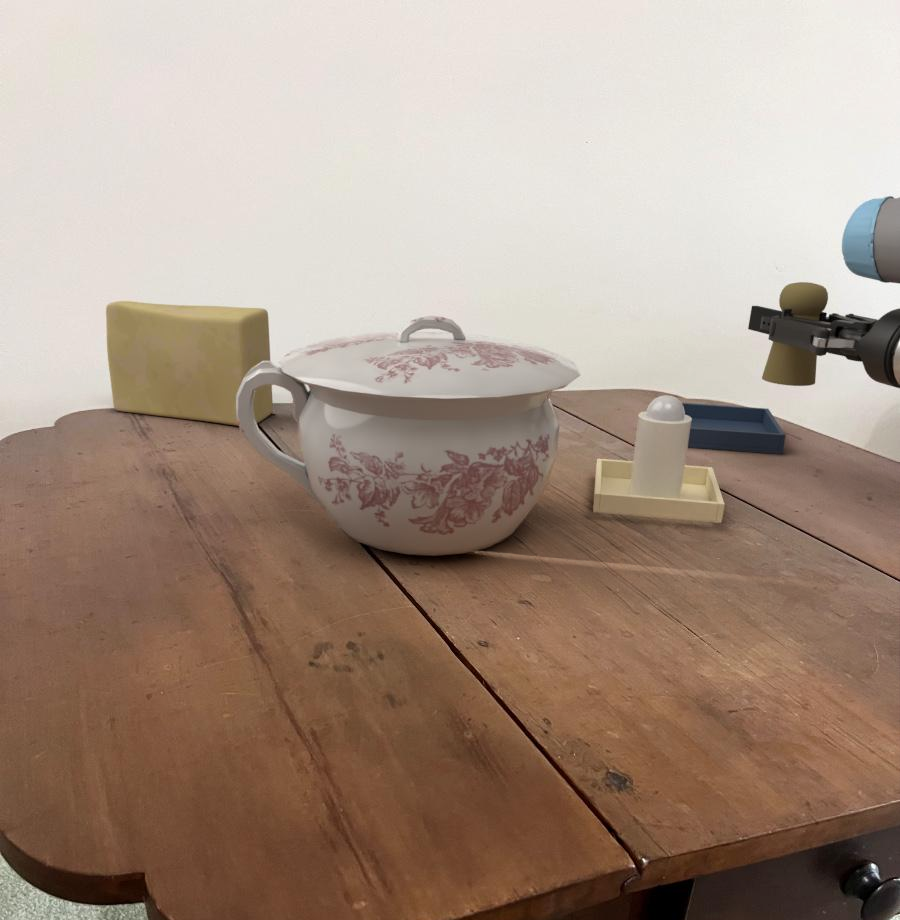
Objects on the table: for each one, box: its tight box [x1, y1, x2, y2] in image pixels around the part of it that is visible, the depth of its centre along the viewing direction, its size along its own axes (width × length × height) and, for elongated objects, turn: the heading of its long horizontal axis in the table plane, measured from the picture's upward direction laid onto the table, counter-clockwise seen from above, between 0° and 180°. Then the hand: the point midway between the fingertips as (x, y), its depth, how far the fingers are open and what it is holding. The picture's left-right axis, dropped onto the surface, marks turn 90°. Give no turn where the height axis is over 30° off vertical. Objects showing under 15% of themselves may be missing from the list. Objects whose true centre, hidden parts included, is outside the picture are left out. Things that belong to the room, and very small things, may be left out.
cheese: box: [105, 300, 274, 427], centre depth 126 cm, size 22×10×15 cm, turn 80°
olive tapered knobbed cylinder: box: [761, 281, 829, 387], centre depth 107 cm, size 6×6×11 cm
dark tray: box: [681, 402, 787, 455], centre depth 128 cm, size 15×15×3 cm
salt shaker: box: [629, 394, 692, 499], centre depth 99 cm, size 6×6×11 cm
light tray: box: [592, 458, 726, 524], centre depth 101 cm, size 13×13×3 cm
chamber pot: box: [236, 315, 581, 557], centre depth 87 cm, size 28×28×21 cm
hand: (769, 317), depth 111 cm, fingers closed on olive tapered knobbed cylinder, 4 cm apart
